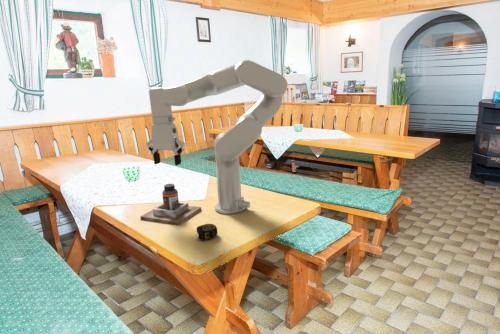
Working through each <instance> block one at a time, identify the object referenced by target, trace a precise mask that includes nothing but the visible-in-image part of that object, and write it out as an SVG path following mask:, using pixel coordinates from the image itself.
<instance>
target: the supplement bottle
mask: <svg viewBox="0 0 500 334" xmlns="http://www.w3.org/2000/svg"><path fill="white" fill-rule="evenodd" d="M163 187H164V188H163V191H162V201H163V202H162V204H163V203H164V209H165V210H175V209H176V208H178V207H179V202H180V201H179V192H178V189H177V188H176V187H175V183H166V184H165V185H163Z"/></svg>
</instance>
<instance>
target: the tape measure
mask: <svg viewBox="0 0 500 334" xmlns="http://www.w3.org/2000/svg"><path fill="white" fill-rule="evenodd" d="M196 232H197V234H198V236H197V237H198V238H197V239H199V240H200V241H204V240H211V239H214V238H216V236H217V235H218V227H217V226H216V225H215V224H214V223H206V224H202V225H201V224H200V225H199V226H197V227H196Z"/></svg>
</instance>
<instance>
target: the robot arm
mask: <svg viewBox="0 0 500 334" xmlns="http://www.w3.org/2000/svg"><path fill="white" fill-rule="evenodd" d="M244 86H248V87H250V88H251V89H254V90H256V91H258V92H261V96H260V98H259V100H258V101H257V102H256V103H255V104H253V106H251V107H250V108H249V109H248V110H247V111H246V112H245V113H243V114H242V115H241V116H239V117H238V118H237V120H236V122H235V124H234V126H232V127H231V128H230V129H229V130H228V131H223V132H220V133H219V134H218V135H216V137H215V139H214V141H213V149H214V150H213V151H214V158H215V173H216V185H217V187H216V189H217V200H218V201H217V202H218V203H217V204H216V205H215V206H214V210H215V212H216V213H219V214H224V215H225V214H226V215H228V214H230V215H231V214H238V213H241V212H243V211H245V209H246V208H247V209H248V208H250V207H251V202H250V201H249V200H245V198H244V196H242V185H241V184H242V183H241V181H242V180H241V165H240V163H241V162H240V156H241V155H242V154H243V153H244V152H245V151H247V150H248V149H249V148H250V147H251V146H252V145H253V144H254V143H255V142H257V141H258V139H260V137H261V135H262V132H263V131H262V130H263V127H264V126H265V125H266V124H268V122H269V121H271V120H272V119H273V118H274V117H275V116H276V114H277V113H278V112H279V110H280V109H281V105H282V103H283V97H284V95H285V93H286V91H287V89H288V82H287V79H286V78H285V76H283V75H282V74H281V73H278V72H276V71H275V70H274V71H273V70H272V69H270V68H267V67H266V66H263V65H261V64H259V63H257V62H255V61H252V60H250V59H245V60H241V61H240V62H236V63H234V64H231V65H229V66H225V67H223V68H222V67H221V68H220V69H217V70H214V71H211V72H209V73H207V74H205V75H203V76H201V77H198V78H197V79H194V80H191V81H189V82H186V83H182V84H179V85H175V86H169V87H165V86H158V87H151V88H150V89H149V91H148V95H149V104H150V112H151V120H152V124H151V129H150V132H151V139H150V140H149V141H147V142H146V143H145V144H146V146H147V148H148V150H149V151H150V153H151V154H152V156H153V163H154V165H157V164H160V163H161V155H160V152H159V151H172V153H174V155H173V157H174V158H173V159H174V165H175V166H179V165H181V164H182V157H181V155H182V153H183V151H184V149H185V147H186V142H184V141H182V140H180V137H179V132H178V129H177V125H176V123H174V121H175V120H176V118H175V117H174V116H173V112H172V106H173V107H184V106H186V105H188V104H189V103H191V102H195V101H198V100H200V99H203V98H207V97H210V96H217V95H220V94H223V93H226V92H228V91H229V92H230V91H231V90H234V89H238V88H241V87H244Z"/></svg>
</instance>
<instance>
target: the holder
mask: <svg viewBox="0 0 500 334" xmlns="http://www.w3.org/2000/svg"><path fill="white" fill-rule="evenodd" d="M200 211H202V207H201V206H196V205H195V206H193V205H189V202H183V201H182V202H181V201H179V207H178V208H176V209H175V210H165V209H164V203H163V202H162V203H161V204H159V205H157V206H156V207H154V208H153V209H151V210H150V211H148V212H146V213H145V214H142V215H140V216H139V217H140V220H142V221H143V220H144V221H148V222H149V221H150V222H154V223H155V222H156V223H163V224H170V225H176V226H179V225H181V224H183V223H184V222H186V221H187V220H188V219H190V218H191V217H193V216H195V215H196V214H198V213H199V212H200Z"/></svg>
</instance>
